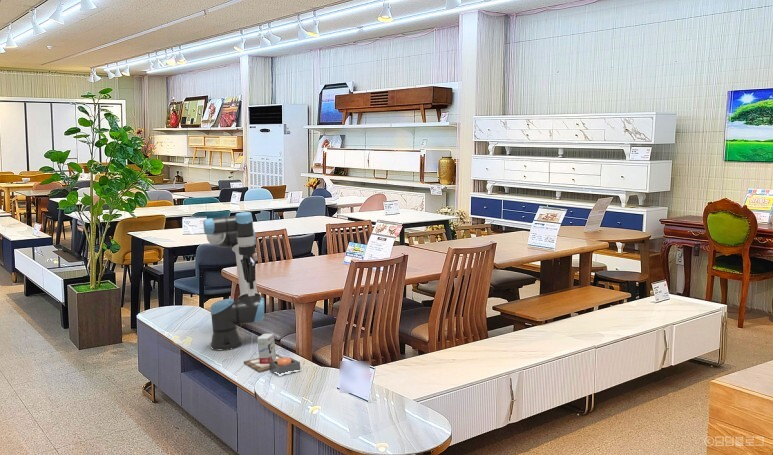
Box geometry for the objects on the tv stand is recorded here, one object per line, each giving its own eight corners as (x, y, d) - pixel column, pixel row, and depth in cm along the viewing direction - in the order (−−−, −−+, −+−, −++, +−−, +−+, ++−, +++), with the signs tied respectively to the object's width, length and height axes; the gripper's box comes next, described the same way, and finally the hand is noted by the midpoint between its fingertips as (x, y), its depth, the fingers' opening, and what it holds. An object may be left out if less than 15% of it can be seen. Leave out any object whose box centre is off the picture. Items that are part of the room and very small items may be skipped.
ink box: (269, 364, 305) (266, 338, 304) (259, 364, 306) (256, 338, 305) (276, 358, 313) (274, 333, 312) (266, 358, 315) (264, 333, 313)
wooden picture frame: (243, 363, 313) (243, 361, 313) (275, 355, 322) (275, 353, 321) (259, 372, 298) (259, 369, 298) (292, 364, 307) (292, 361, 306)
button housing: (269, 371, 298) (269, 362, 298) (290, 366, 304) (289, 357, 303) (279, 376, 290) (278, 367, 290) (300, 371, 296) (299, 362, 295)
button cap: (275, 368, 298) (274, 359, 297) (288, 365, 301) (287, 356, 301) (281, 371, 293) (280, 362, 292) (294, 368, 296) (293, 359, 296)
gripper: (259, 245, 313) (264, 296, 316) (248, 243, 324) (253, 292, 327) (244, 247, 309) (249, 298, 312) (233, 245, 320) (238, 295, 323)
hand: (251, 295), depth 319 cm, fingers closed
